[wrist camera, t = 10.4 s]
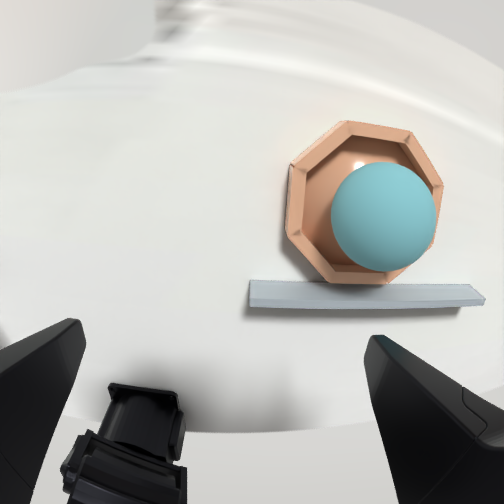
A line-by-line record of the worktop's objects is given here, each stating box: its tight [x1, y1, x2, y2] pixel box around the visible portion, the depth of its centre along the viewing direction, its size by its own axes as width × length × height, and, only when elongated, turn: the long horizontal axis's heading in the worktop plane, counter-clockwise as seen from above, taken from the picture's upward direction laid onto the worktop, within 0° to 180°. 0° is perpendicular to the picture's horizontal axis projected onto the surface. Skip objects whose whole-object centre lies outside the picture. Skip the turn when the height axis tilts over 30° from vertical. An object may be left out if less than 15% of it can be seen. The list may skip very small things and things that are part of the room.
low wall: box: [250, 280, 486, 309], centre depth 21 cm, size 18×1×2 cm, turn 87°
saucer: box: [285, 121, 444, 284], centre depth 19 cm, size 10×10×2 cm
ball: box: [331, 162, 436, 272], centre depth 17 cm, size 6×6×6 cm
